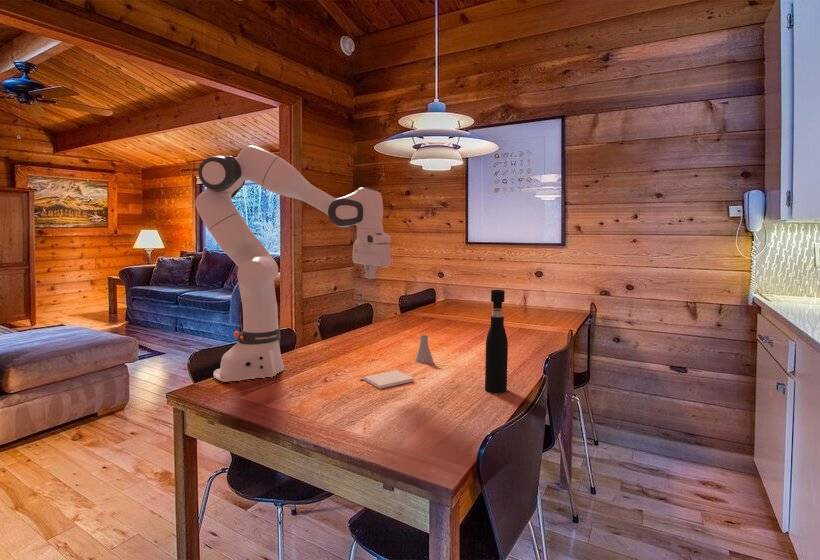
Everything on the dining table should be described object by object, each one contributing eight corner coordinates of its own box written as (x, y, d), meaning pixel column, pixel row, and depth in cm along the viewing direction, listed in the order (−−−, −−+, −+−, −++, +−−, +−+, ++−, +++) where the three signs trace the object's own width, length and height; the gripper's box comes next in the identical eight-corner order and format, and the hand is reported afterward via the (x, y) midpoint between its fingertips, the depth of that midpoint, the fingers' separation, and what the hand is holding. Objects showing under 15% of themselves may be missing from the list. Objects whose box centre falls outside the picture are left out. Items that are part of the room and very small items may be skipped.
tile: (363, 380, 146) (380, 389, 138) (363, 376, 146) (380, 385, 138) (396, 373, 153) (413, 381, 145) (396, 370, 153) (413, 377, 145)
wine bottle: (502, 395, 136) (504, 292, 133) (481, 391, 140) (483, 291, 136) (509, 388, 142) (512, 290, 138) (489, 384, 145) (491, 288, 142)
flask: (432, 367, 164) (432, 338, 162) (412, 365, 165) (412, 337, 164) (435, 361, 171) (435, 334, 169) (415, 360, 172) (415, 333, 171)
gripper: (347, 236, 164) (348, 276, 166) (377, 238, 147) (377, 282, 149) (363, 236, 168) (364, 275, 169) (394, 237, 151) (394, 280, 152)
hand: (370, 278), depth 159 cm, fingers closed
